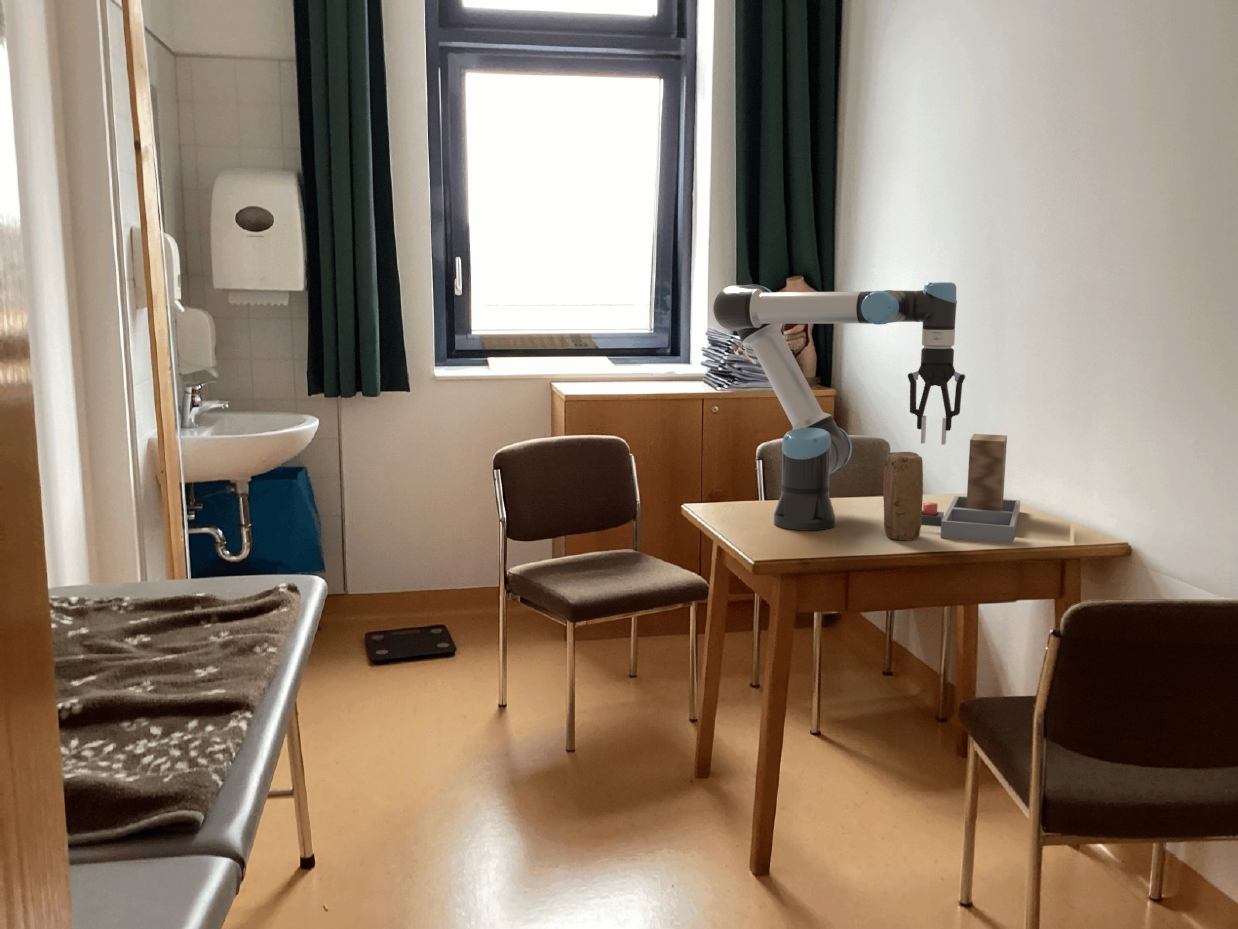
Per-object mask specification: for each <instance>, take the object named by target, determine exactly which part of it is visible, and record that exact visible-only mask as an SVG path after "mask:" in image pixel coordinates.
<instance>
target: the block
mask: <svg viewBox="0 0 1238 929" xmlns="http://www.w3.org/2000/svg"><path fill="white" fill-rule="evenodd" d="M923 465H924V464H923V458H922V456H920V455H919V454H918V453H916V452H912V451H895V452H894V451H893V452H890V453H889V454H888V455H887V457H886V461H885V464H884V471H883V481H882V482H883V488H882V489H883V490H882V491H883V492H882V495H883V526H884V532H885V534H886V536H887V537H889V538H890V539H893V540H896V541H899V540H900V541H912V540H916V539H918V538H919V537H920V534H921V529H922V524H921V522H922V511H923V503H924V502H923V501H924V500H923V496H924V495H923V494H924V481H923V479H924V478H923V477H924V473H923V471H924V469H923V468H924V466H923Z"/></svg>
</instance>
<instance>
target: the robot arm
mask: <svg viewBox="0 0 1238 929" xmlns="http://www.w3.org/2000/svg"><path fill="white" fill-rule="evenodd" d="M957 304H958V301H957V285H956V283H954V282H948V281H947V282H942V281H940V282H932V281H931V282H925V284H924V286H923V289H922V290H892V289H887V290H873V291H872V290H869V291H867V290H865V291H812V292H811V291H809V292H808V291H804V292H803V291H799V292H796V291H795V292H792V291H791V292H789V291H788V292H773V291H771V290H770V289H769V288H767V287H765V286H762V285H759V284H755V283H754V284H740V285H739V284H736V285H735V284H734V285H730V286H726V287H725V288H723V289H722V290H721V291H719V293H718V294H717V295H716V297H715V299H714V302H713V307H712V310H713V316H714V318H715V320H716V322H717V323H718V324H719V325H720V326H721V327H722V328H724V329H726V330H728V331H733V332H736V333H737V336H738V337H739V339H740V340H741V343H742V344H743V345H746V346H749V347H751V349H752V351H753V353H754V355H755V356H756V358H757V360H758V362H759V364H760V367H761V368H762V370H763V372H764V375H765V376H766V378H767V381H768V382H769V384H770V385H771V387H772V389H773V391H774V393H775V396H776V397H777V399H778V400H779V403H780V405H781V406H782V408H783V410H784V412H785V414H786V416H787V419H788V420H789V422H790V424H791V426H792V429H791V430H789V431H787V432H786V433H785V434H784V436H783V437H782V445H781V493H780V496H779V499H778V502H777V505H776V508H775V511H774V513H773V524H774V525H775V526H777V527H780V528H783V529H787V530H794V531H795V530H796V531H821V530H822V531H823V530H829V529H831V528H834V527H835V526H836V514H835V510H834V507H833V505H832V500H831V497H830V475H831V474H835V473H836V472H838V471H840V470H841V469H843V468H844V466H845V465H846V464H847V463H848V462H849V461H850V458H851V456H852V454H853V446H852V445H853V444H852V440H851V438H850V436H849V434H848V433H847V432H846V431H845V430H844V429H842V428H841V427H839V426H837V423H836V421H835V419H834V417H833V415H832V414H830V413H827V412H824V411H823V410H822V408H821V406H820V404H819V401H818V400H817V398H816V396H815V394H814V392H813V390H812V389H811V386H810V385H809V383H808V381H807V379H806V377H805V375H804V373H803V372H802V369H801V367H800V366H799V364H798V362H797V360H796V357H795V356H794V354H793V353H792V350H791V348H790V346H789V345H788V343H787V340H786V339H785V337H784V335H783V333H782V331H781V330H782V325H783V324H785V325H786V324H792V325H793V324H794V325H795V324H821V325H822V324H825V325H826V324H865V325H866V324H867V325H868V324H869V325H870V324H871V325H872V324H873V325H878V326H879V325H886V324H891V323H907V322H908V323H909V322H910V323H922V329H921V333H922V334H921V345H922V346H923V347H922V348H921V353H920V354H921V355H920V365H919V367H918V370H915V371H913V372H910V373H909V372H908V374H907V379H908V382H909V413H910V414H913V415H915V416H916V417H917V418H916V419H917V420H916V428H917V430H920V444H921V445H922V444H925V443H926V435H927V434H926V433H927V415H924V413H925V410H926V406H927V401H928V398H929V395H930V390H931V388H932V387H934V386H937V387H940V390H941V395H942V401H943V406H944V407H943V408H944V412H945V416H943V417H942V421H941V422H942V423H941V424H942V425H941V442H940V443H941V446H942V445H943V446H945V445H946V444H947V432H949V431H951V430H952V422H953V419H952V418H953V417H956V416H959V415H960V413H961V403H962V391H963V383H964V381H965V379H966V377H967V376H966V374H965V373H960V372H957V371H956V369H955V367H954V360H955V359H954V357H955V355H954V354H955V350H954V348H952V347H954V346H955V339H956V318H957V317H956V316H957V314H956V313H957ZM919 376H920V377H921V379H922V380H923V382H924V386H923V390H922V395H921V398H920V403H919V406H918V408H917V381H918V380H919ZM953 377H954V381H955V382H956V384H955V391H954V392H955V395H954V407H953V410H952V406H951V400H950V399H951V398H950V393H949V387H948V382H949V381H950V380H951V379H952V378H953Z"/></svg>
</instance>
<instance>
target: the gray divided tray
mask: <svg viewBox="0 0 1238 929" xmlns="http://www.w3.org/2000/svg"><path fill="white" fill-rule="evenodd" d="M966 507H967V496H963V495H954V498H953V500H951V503H950V505H949V507H948V508H947V510H946V512H945V513H944V517H943V519H942V521H941V525H940V539H951V540H961V541H974V542H984V543H985V542H986V543H997V544H1007V545H1008V544H1009V545H1013V544H1014V540H1015V533H1016V529H1017V524H1018V520H1019V518H1020V517H1019V516H1020V512H1021V511H1020V510H1021V500H1020V499H1019V500H1018V499H1004V498H1003V511H995V510H982V509H969V508H966Z"/></svg>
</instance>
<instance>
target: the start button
mask: <svg viewBox="0 0 1238 929" xmlns="http://www.w3.org/2000/svg"><path fill="white" fill-rule="evenodd" d="M922 511H923V515H931V516H937V512H938V503H937V502H929V501H926V502H922Z"/></svg>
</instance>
